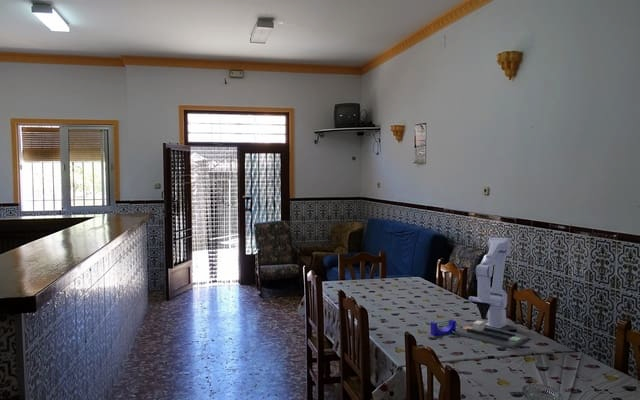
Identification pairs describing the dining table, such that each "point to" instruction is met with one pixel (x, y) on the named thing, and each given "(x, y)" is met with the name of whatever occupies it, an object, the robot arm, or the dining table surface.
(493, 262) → the robot arm
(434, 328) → the cable clip
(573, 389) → the dining table surface
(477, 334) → the breaker panel
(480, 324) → the switch handle
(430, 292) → the dining table surface
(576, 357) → the dining table surface
